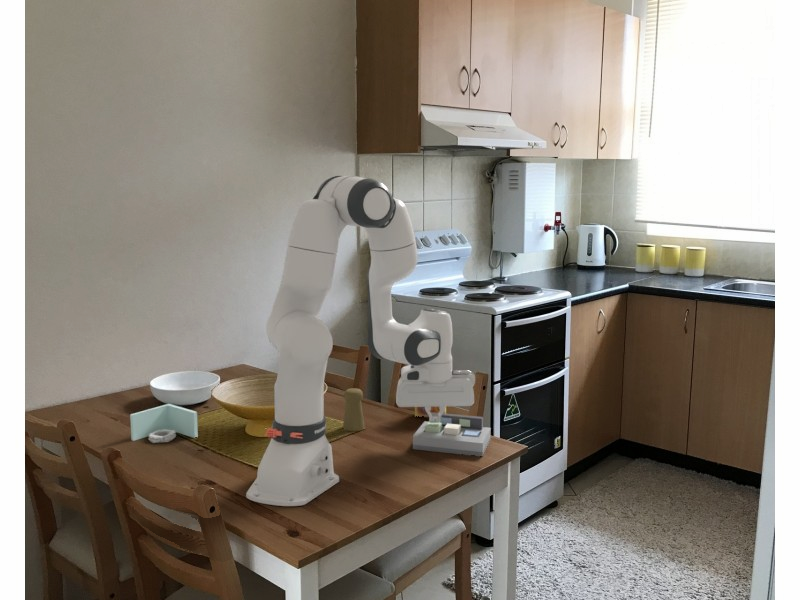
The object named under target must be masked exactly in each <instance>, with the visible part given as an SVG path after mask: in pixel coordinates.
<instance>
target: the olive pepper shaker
mask: <svg viewBox="0 0 800 600" xmlns="http://www.w3.org/2000/svg"><path fill="white" fill-rule="evenodd" d="M363 393H364V392H363V391H362V389H360V388H355V387H353V388H352V387H350V388H347V389H346V390H345V391H344V393H343V394H344V396H343V398H344V400H345V408H344V409H345V410H344V418H343V424H342V429H343V428H344V429H345V430H344V429H343V430H344V431H347V430H348V431H347V432H359V431H363V430H365V420H364V414H363V405H362V400H363V397H364V394H363Z"/></svg>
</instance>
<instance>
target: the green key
mask: <svg viewBox="0 0 800 600" xmlns="http://www.w3.org/2000/svg"><path fill="white" fill-rule="evenodd" d="M427 422H428V423H427V424H426V426H425V432H430V433H441V431H442V423H429V421H427Z"/></svg>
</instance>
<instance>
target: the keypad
mask: <svg viewBox="0 0 800 600" xmlns="http://www.w3.org/2000/svg"><path fill="white" fill-rule="evenodd" d="M431 414H438V413H436V412H431ZM428 422H429V421H426V420H424V421H423V422H422V424H420V426H419V427H418V429H417V430H416V431H415V432H414V434H413V435H412V449H413V450H417V451H418V450H419V451H427V452H428V451H429V452H435V453H436V452H437V453H445V454H455V455H462V454H463V456H471V455H475V456H474V457H480V456H483V457H484V455H483V454H485V453H486V451H485V450H487V449H488V447H487V446H489V444H490V442H491V439H492V438H491V437H492V436H491V433H492V432H491V429H492V428H491V427H486V426H485V427H484V417H483V416H476V415H466V414H465V415H464V414H457V413H456V414H454V413H447V412H446V413H443V414H442V416H441V423H442V431H441V433H430V432H425V426H426V424H427V423H428ZM447 423H448V424H458V425H461V433H460V435H450V434H444V427H445V426H446V425H447ZM465 430H475V431H480V436H479V437H469V436H463V434H464V432H465ZM489 441H490V442H489ZM486 448H487V449H486ZM484 452H485V453H484Z"/></svg>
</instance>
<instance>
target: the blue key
mask: <svg viewBox="0 0 800 600" xmlns="http://www.w3.org/2000/svg"><path fill="white" fill-rule="evenodd" d="M463 436H469V437H479V436H480V431H475V430H465V432H464V434H463Z"/></svg>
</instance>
